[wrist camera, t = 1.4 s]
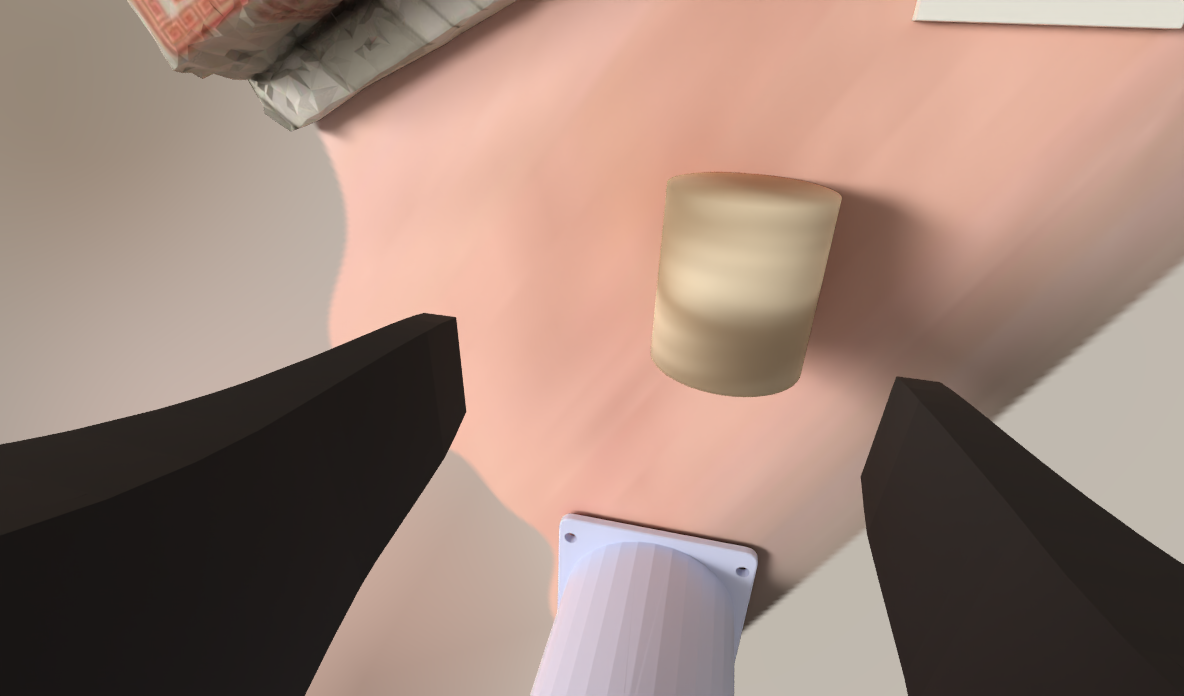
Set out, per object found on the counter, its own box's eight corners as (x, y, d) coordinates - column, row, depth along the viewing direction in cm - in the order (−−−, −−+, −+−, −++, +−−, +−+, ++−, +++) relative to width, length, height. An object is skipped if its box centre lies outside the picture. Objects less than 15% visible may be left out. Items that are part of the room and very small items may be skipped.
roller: (738, 319, 20) (834, 379, 16) (625, 338, 18) (704, 410, 15) (764, 169, 18) (881, 202, 14) (637, 175, 16) (734, 214, 12)
